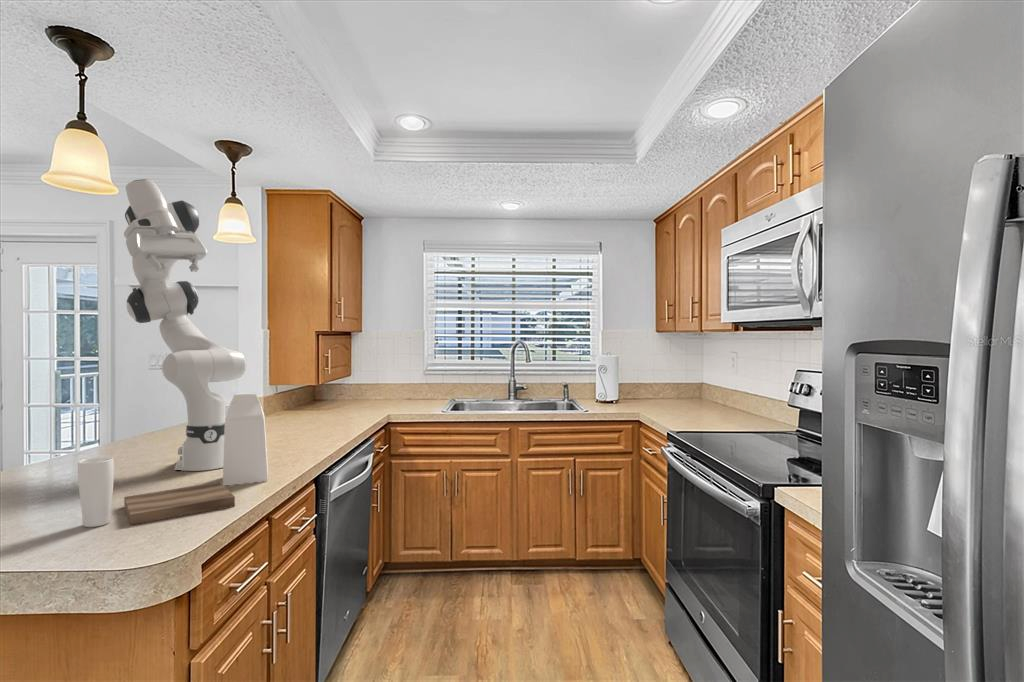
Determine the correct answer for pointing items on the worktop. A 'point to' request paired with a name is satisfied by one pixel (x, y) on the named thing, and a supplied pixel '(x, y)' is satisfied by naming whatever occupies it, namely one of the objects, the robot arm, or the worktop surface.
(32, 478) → the worktop surface
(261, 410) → the milk
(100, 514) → the drinking glass
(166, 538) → the worktop surface
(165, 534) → the worktop surface
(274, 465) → the worktop surface
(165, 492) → the walnut board
